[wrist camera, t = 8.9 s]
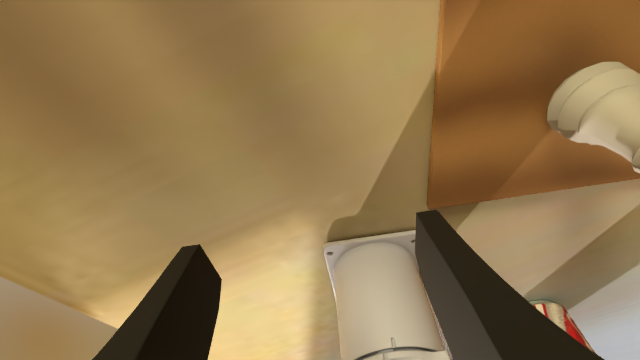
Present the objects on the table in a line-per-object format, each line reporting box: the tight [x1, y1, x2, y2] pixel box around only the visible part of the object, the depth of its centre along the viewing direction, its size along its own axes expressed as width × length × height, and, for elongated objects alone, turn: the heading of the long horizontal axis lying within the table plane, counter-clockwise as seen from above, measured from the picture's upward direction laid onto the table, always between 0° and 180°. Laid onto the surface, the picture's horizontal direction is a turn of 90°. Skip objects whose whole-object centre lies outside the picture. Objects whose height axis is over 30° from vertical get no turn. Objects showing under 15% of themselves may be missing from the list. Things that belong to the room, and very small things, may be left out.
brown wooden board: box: [427, 0, 640, 209], centre depth 19 cm, size 15×17×1 cm
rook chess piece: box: [547, 62, 640, 173], centre depth 15 cm, size 4×4×8 cm
